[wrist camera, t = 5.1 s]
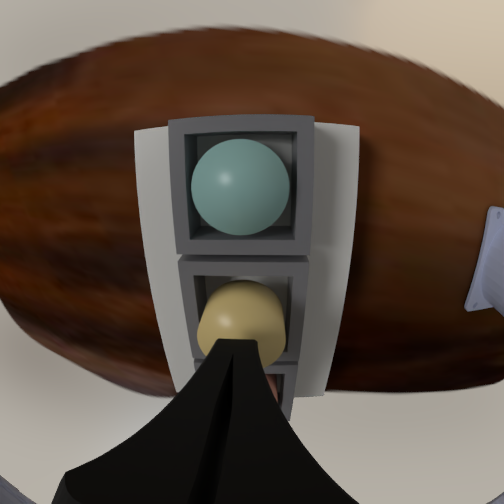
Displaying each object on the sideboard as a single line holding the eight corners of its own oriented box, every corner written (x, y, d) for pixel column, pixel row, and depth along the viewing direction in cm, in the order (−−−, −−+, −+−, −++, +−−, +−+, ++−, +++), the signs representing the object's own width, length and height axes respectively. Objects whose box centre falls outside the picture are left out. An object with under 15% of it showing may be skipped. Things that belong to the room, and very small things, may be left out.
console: (346, 129, 12) (376, 122, 8) (319, 375, 18) (327, 418, 14) (150, 132, 13) (112, 129, 9) (182, 372, 18) (169, 413, 15)
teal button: (285, 141, 10) (289, 139, 8) (284, 221, 11) (288, 235, 10) (201, 142, 10) (189, 141, 9) (204, 221, 12) (194, 235, 10)
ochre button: (284, 279, 11) (288, 304, 9) (281, 343, 12) (283, 371, 11) (202, 278, 11) (192, 302, 9) (209, 341, 12) (202, 369, 11)
